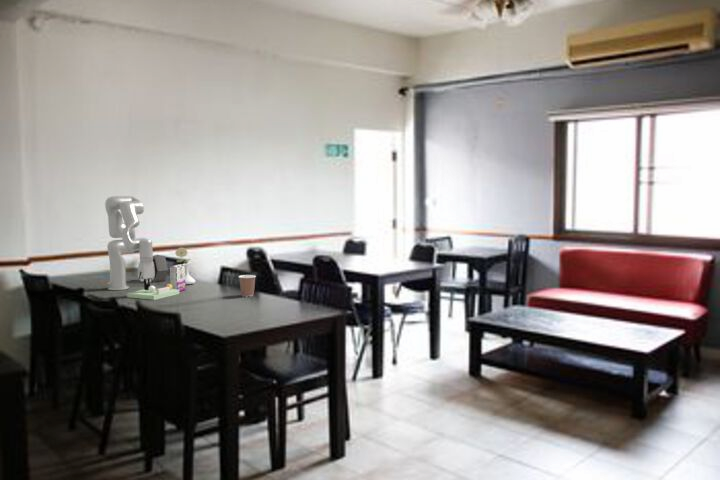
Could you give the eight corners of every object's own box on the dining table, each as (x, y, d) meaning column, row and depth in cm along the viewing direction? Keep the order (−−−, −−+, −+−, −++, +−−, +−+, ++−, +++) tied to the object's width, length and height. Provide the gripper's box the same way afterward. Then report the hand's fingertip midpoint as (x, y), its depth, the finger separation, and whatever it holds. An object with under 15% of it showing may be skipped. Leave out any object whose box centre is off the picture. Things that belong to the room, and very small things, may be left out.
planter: (142, 272, 437) (149, 249, 428) (153, 271, 443) (159, 249, 433) (152, 288, 428) (159, 265, 419) (162, 286, 434) (170, 263, 424)
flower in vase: (197, 282, 423) (196, 246, 421) (193, 285, 412) (192, 248, 410) (178, 282, 423) (177, 246, 421) (173, 285, 412) (172, 248, 409)
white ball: (152, 288, 369) (150, 293, 370) (157, 287, 373) (155, 293, 374) (148, 284, 371) (146, 289, 372) (153, 283, 374) (151, 289, 375)
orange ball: (164, 290, 377) (164, 284, 377) (168, 289, 381) (168, 283, 380) (169, 291, 375) (169, 284, 375) (174, 290, 379) (173, 283, 379)
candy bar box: (178, 289, 396) (178, 264, 394) (185, 289, 395) (185, 264, 393) (170, 292, 385) (169, 266, 384) (177, 292, 384) (176, 266, 383)
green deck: (126, 297, 369) (126, 288, 369) (153, 291, 389) (152, 282, 389) (154, 299, 361) (153, 290, 360) (179, 293, 381) (179, 284, 380)
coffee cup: (259, 295, 377) (259, 275, 376) (248, 297, 368) (248, 277, 367) (246, 293, 382) (245, 274, 380) (235, 296, 373) (234, 276, 371)
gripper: (150, 258, 381) (151, 287, 382) (132, 260, 367) (133, 291, 369) (159, 258, 378) (160, 288, 379) (142, 261, 364) (143, 292, 366)
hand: (147, 289), depth 374 cm, fingers closed
